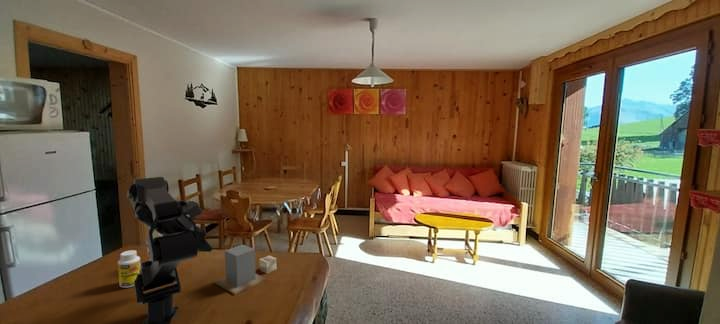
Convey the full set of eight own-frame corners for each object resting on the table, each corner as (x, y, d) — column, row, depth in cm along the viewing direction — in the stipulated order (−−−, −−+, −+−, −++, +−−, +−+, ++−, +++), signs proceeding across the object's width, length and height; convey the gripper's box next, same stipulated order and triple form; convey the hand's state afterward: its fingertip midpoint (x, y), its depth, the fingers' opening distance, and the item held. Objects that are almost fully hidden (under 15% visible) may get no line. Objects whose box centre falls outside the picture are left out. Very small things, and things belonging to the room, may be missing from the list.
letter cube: (266, 273, 103) (266, 262, 103) (259, 270, 105) (259, 259, 105) (276, 269, 106) (276, 258, 106) (269, 266, 109) (269, 255, 108)
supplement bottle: (118, 290, 91) (115, 258, 90) (120, 282, 96) (117, 251, 94) (141, 285, 94) (139, 253, 93) (142, 277, 99) (139, 247, 98)
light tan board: (234, 295, 90) (234, 293, 90) (215, 283, 96) (214, 281, 96) (266, 280, 99) (265, 278, 98) (246, 270, 105) (245, 268, 105)
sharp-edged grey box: (237, 287, 93) (236, 256, 92) (225, 280, 97) (224, 250, 95) (255, 279, 98) (254, 249, 97) (244, 273, 102) (243, 244, 100)
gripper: (197, 200, 79) (237, 229, 90) (168, 189, 91) (206, 216, 101) (165, 237, 74) (212, 264, 84) (138, 221, 85) (182, 246, 96)
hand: (203, 245), depth 91 cm, fingers open, 9 cm apart
